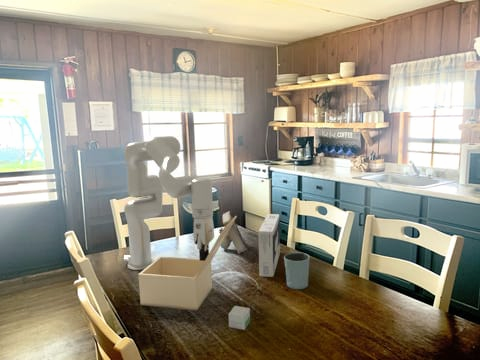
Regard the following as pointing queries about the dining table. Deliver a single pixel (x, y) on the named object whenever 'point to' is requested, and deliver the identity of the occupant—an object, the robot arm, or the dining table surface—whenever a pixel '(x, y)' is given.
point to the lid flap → (216, 245)
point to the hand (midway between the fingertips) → (204, 259)
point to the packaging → (269, 245)
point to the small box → (239, 317)
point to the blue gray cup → (297, 269)
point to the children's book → (232, 235)
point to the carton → (175, 283)
